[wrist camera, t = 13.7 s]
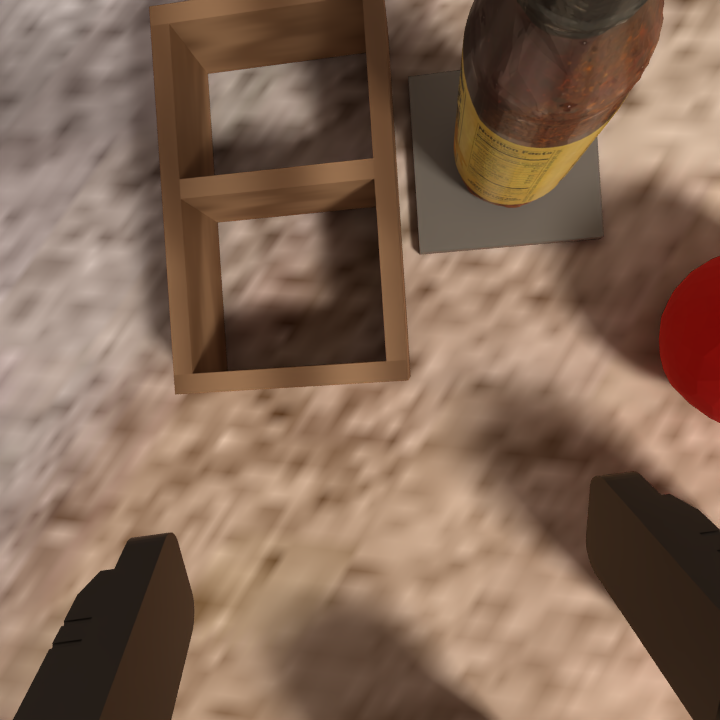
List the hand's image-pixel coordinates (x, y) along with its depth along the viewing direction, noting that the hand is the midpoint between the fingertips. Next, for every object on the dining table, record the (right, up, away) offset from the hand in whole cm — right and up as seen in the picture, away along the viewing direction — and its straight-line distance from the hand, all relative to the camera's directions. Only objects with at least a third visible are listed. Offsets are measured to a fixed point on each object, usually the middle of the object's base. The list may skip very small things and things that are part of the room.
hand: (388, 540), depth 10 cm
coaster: (+8, +15, +20) cm, 26 cm away
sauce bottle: (+8, +15, +20) cm, 26 cm away
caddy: (-4, +12, +22) cm, 25 cm away
